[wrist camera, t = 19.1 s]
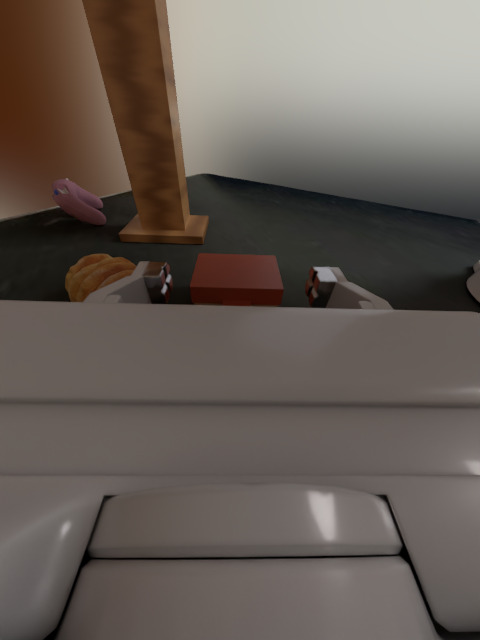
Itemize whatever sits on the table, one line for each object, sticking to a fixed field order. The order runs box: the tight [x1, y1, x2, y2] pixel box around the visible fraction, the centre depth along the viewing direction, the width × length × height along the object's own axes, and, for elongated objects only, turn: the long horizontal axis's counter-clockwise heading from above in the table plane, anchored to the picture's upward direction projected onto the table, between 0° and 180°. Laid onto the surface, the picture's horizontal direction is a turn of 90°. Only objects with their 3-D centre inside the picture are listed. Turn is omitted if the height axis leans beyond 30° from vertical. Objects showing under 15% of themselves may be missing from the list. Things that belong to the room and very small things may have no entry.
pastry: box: [65, 254, 137, 302], centre depth 21 cm, size 9×7×4 cm
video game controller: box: [52, 178, 106, 225], centre depth 37 cm, size 10×5×7 cm, turn 27°
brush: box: [190, 253, 284, 307], centre depth 18 cm, size 8×17×4 cm, turn 0°
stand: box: [82, 0, 209, 244], centre depth 27 cm, size 12×9×26 cm
